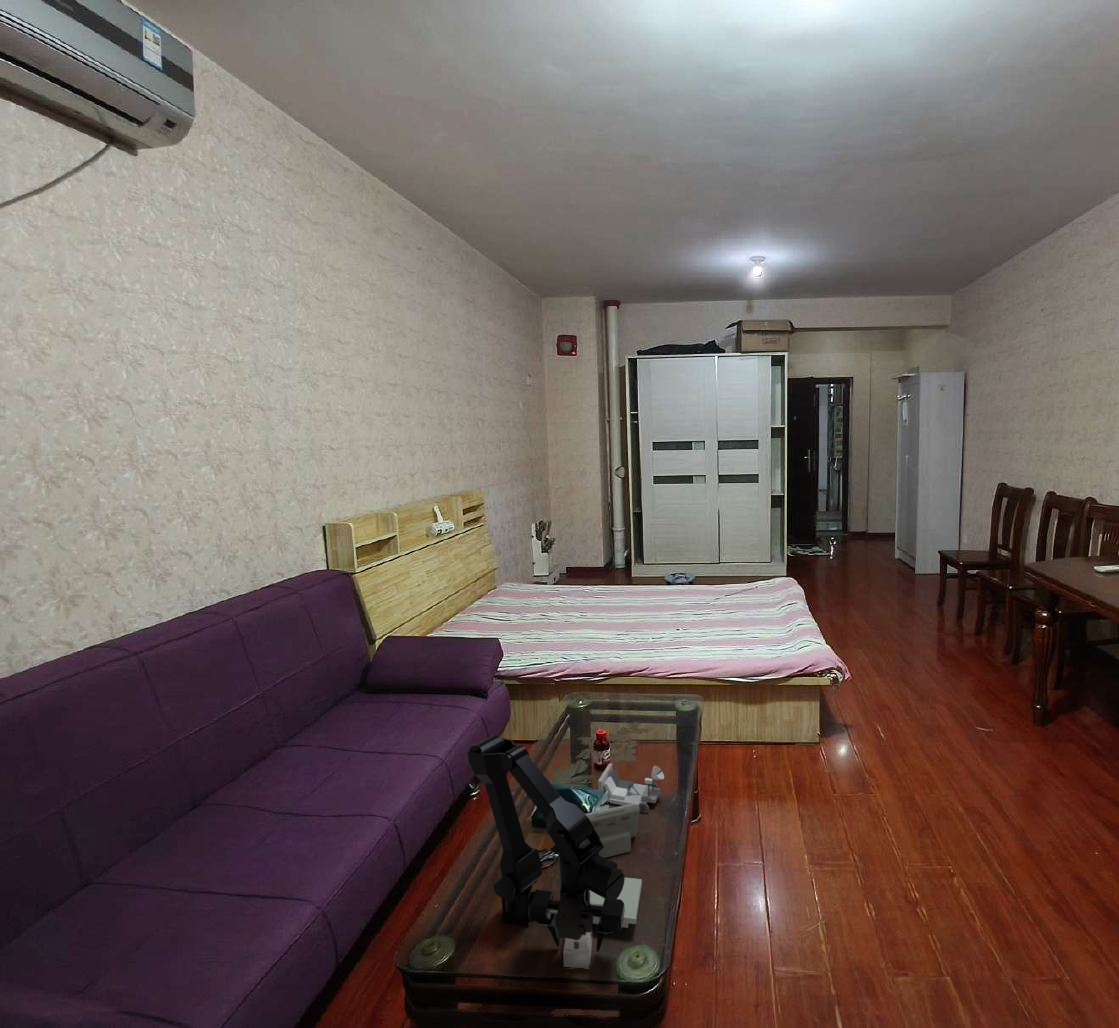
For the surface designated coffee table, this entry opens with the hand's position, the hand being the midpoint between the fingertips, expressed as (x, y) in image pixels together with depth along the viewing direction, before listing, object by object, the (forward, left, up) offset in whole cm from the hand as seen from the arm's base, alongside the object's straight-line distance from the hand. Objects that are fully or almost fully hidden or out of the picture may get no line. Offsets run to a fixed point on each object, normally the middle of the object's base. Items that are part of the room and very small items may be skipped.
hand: (578, 947), depth 133 cm
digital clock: (+1, +34, -1) cm, 34 cm away
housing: (0, 0, -1) cm, 1 cm away
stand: (+5, +12, -1) cm, 13 cm away
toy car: (+4, +56, -2) cm, 56 cm away
